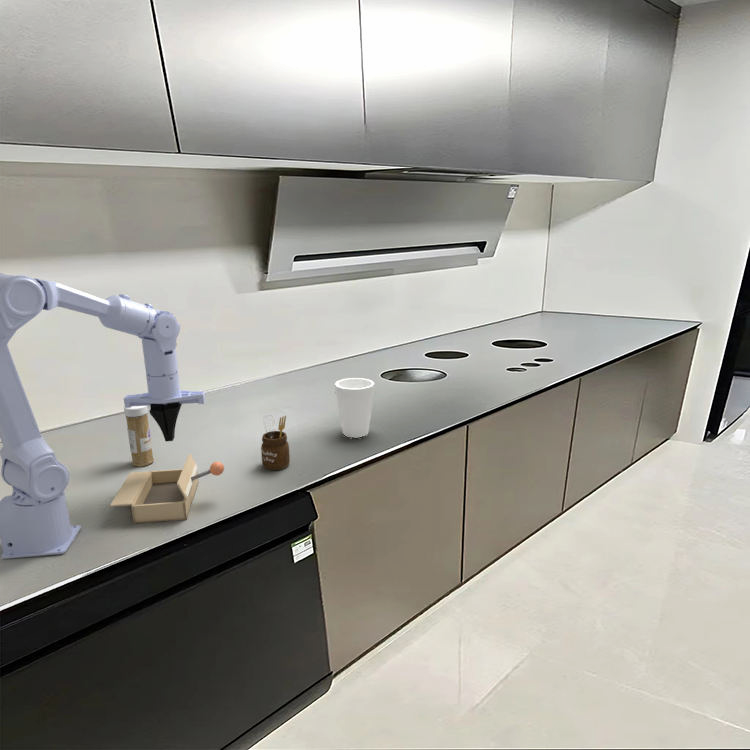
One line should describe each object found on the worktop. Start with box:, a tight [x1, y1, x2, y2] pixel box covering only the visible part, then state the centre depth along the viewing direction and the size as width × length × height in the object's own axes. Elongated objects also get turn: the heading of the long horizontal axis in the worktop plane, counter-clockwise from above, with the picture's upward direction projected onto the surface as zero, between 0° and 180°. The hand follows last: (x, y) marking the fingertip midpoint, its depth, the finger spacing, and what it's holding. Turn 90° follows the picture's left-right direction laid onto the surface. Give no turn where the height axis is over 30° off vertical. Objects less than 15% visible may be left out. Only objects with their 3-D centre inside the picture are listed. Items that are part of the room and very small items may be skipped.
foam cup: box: [334, 377, 375, 438], centre depth 136 cm, size 10×9×13 cm
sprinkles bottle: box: [123, 406, 155, 468], centre depth 120 cm, size 5×5×14 cm
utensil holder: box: [260, 414, 291, 471], centre depth 119 cm, size 6×6×12 cm
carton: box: [109, 468, 199, 525], centre depth 104 cm, size 13×14×4 cm
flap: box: [177, 453, 225, 499], centre depth 105 cm, size 4×13×7 cm
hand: (169, 439), depth 109 cm, fingers closed
